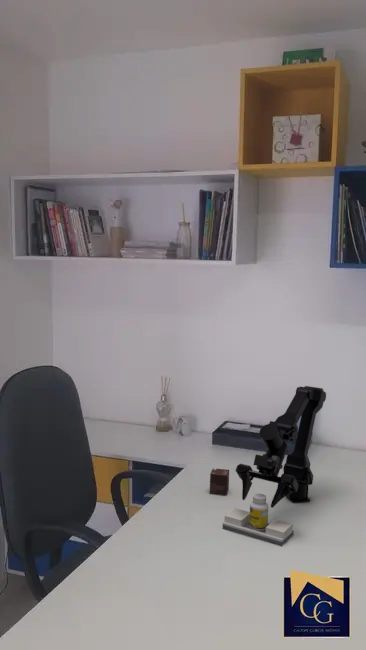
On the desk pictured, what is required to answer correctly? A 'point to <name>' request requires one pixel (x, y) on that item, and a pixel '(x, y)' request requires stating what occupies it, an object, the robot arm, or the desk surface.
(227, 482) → the box
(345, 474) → the desk surface
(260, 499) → the supplement bottle
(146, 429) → the desk surface
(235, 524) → the rail plate
